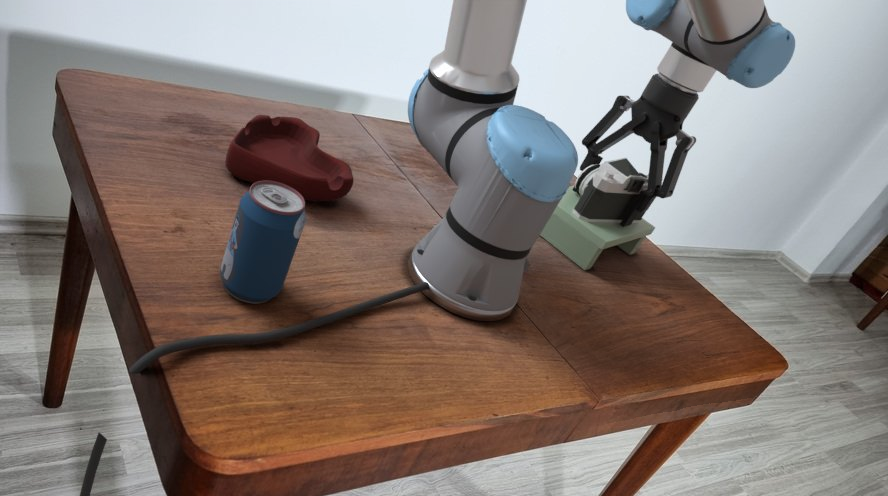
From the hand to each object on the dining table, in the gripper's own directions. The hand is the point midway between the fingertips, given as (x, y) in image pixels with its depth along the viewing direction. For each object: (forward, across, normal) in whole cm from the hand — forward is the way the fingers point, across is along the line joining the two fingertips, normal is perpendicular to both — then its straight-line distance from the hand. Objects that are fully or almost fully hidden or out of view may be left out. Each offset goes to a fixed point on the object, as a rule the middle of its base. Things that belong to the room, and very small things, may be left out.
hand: (601, 207), depth 118 cm
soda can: (+6, +6, +65) cm, 66 cm away
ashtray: (+7, +26, +47) cm, 54 cm away
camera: (+1, 0, 0) cm, 1 cm away
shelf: (+7, 0, 0) cm, 7 cm away
